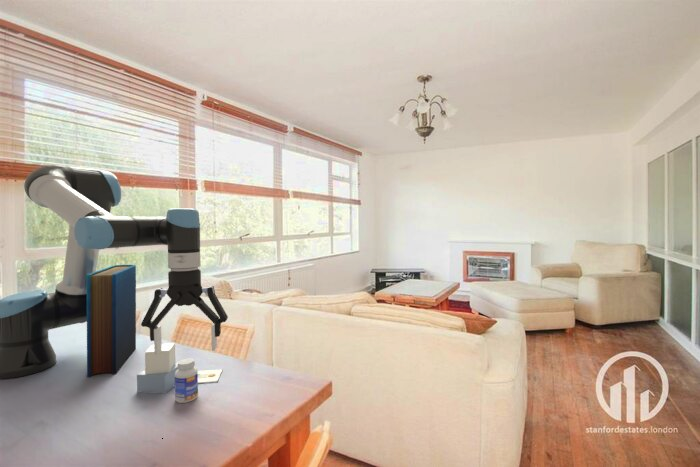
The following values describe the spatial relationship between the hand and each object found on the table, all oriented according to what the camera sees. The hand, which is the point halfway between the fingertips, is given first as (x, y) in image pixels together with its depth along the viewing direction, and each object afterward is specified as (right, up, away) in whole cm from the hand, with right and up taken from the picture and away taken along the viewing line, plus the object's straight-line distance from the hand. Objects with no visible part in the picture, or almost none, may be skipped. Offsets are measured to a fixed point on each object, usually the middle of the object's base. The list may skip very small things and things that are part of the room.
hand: (186, 351), depth 89 cm
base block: (-11, -13, +7) cm, 18 cm away
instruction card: (-1, -12, +13) cm, 17 cm away
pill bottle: (0, -13, +1) cm, 13 cm away
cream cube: (-11, -7, +7) cm, 15 cm away
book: (-36, -12, +25) cm, 45 cm away
